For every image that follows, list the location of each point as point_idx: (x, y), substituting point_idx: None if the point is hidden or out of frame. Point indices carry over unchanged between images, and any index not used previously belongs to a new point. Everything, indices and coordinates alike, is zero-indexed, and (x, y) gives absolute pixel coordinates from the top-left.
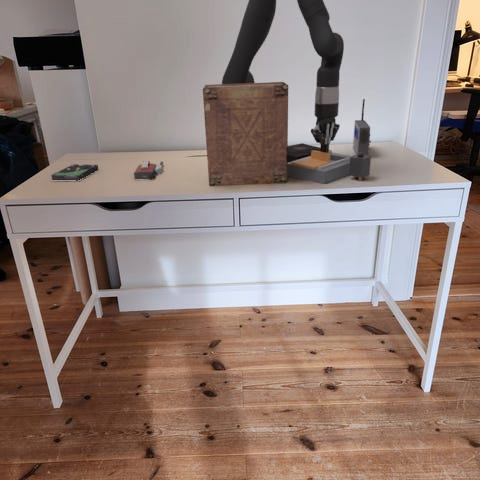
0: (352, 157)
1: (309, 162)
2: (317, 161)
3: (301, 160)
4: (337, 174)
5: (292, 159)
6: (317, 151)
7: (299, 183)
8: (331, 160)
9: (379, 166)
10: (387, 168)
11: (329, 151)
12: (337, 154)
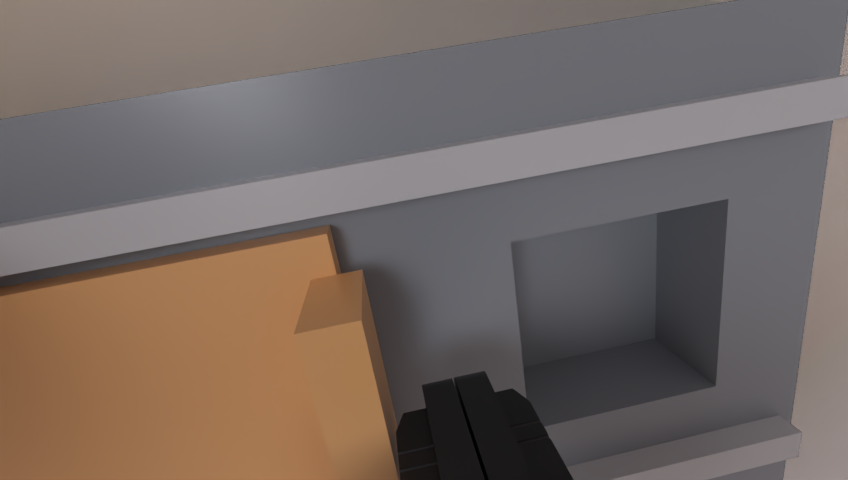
0: None
1: (150, 432)
2: (272, 446)
3: (105, 295)
4: None
5: None
6: (355, 422)
7: None
8: (517, 387)
9: (839, 407)
10: (818, 466)
11: (796, 125)
12: (782, 225)
